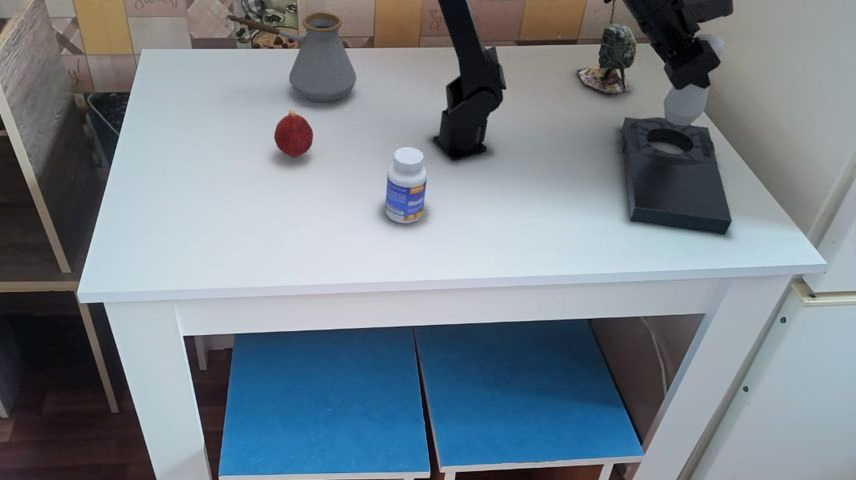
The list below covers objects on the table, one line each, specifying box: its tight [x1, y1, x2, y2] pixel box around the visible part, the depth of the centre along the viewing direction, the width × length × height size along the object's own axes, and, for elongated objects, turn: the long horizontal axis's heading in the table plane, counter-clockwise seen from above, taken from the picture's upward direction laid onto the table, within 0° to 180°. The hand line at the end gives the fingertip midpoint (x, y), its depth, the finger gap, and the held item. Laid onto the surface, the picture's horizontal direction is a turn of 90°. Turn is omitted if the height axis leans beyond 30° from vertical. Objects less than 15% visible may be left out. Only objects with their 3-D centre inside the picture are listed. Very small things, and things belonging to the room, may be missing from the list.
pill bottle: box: [384, 146, 428, 224], centre depth 101 cm, size 5×5×10 cm
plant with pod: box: [576, 0, 638, 95], centre depth 124 cm, size 8×11×20 cm
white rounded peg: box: [663, 33, 725, 126], centre depth 107 cm, size 6×6×13 cm
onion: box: [273, 109, 314, 158], centre depth 110 cm, size 6×6×8 cm
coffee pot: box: [224, 11, 357, 104], centre depth 121 cm, size 21×12×15 cm, turn 102°
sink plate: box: [620, 116, 733, 235], centre depth 111 cm, size 25×13×2 cm, turn 168°
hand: (703, 80), depth 106 cm, fingers closed on white rounded peg, 3 cm apart
